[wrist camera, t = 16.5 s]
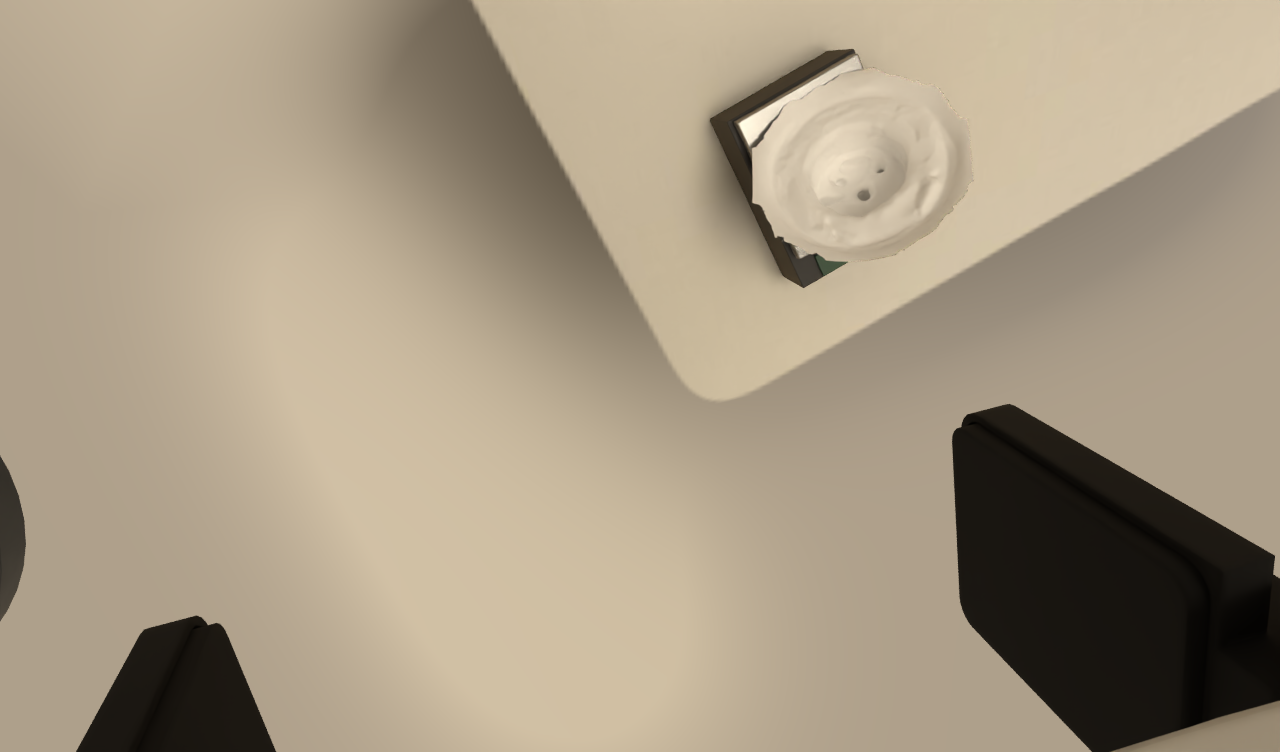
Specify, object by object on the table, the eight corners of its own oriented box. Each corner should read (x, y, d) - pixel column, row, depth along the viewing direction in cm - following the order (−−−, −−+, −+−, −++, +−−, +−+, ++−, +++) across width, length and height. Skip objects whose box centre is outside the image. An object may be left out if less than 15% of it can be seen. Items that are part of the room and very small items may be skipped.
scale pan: (905, 192, 38) (913, 194, 37) (794, 257, 37) (800, 260, 37) (851, 53, 35) (858, 52, 35) (732, 121, 35) (737, 122, 34)
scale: (893, 212, 41) (923, 220, 38) (783, 276, 40) (805, 289, 38) (829, 50, 37) (856, 48, 35) (709, 119, 37) (727, 122, 35)
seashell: (787, 188, 40) (772, 318, 35) (756, 90, 36) (734, 221, 31) (974, 153, 36) (985, 292, 32) (960, 43, 33) (971, 180, 28)
